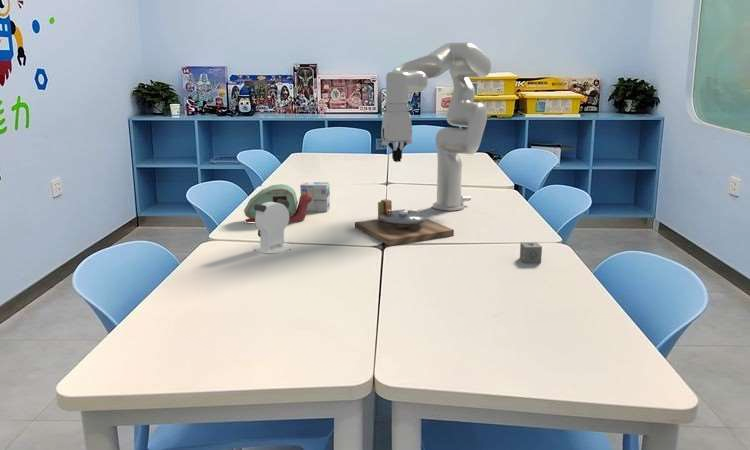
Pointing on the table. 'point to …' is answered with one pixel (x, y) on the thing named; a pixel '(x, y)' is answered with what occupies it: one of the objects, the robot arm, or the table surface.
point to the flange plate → (403, 219)
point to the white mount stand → (272, 226)
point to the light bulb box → (317, 195)
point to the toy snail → (273, 195)
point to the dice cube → (530, 252)
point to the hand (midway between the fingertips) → (397, 161)
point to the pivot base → (402, 230)
